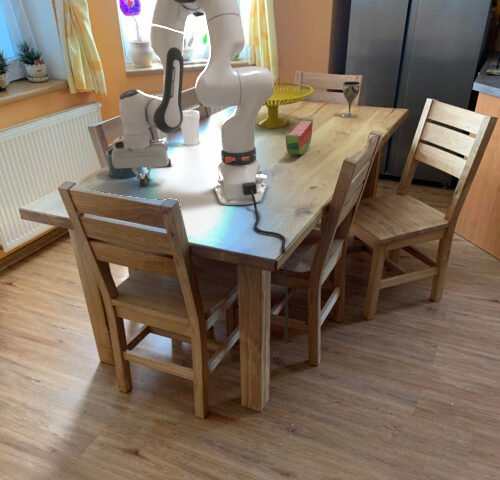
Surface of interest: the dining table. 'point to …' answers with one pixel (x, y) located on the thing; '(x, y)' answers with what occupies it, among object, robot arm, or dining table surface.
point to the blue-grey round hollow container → (120, 172)
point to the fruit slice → (299, 137)
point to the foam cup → (190, 127)
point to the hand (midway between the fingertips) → (143, 178)
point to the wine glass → (350, 94)
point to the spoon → (143, 180)
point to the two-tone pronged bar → (167, 165)
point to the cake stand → (282, 102)
